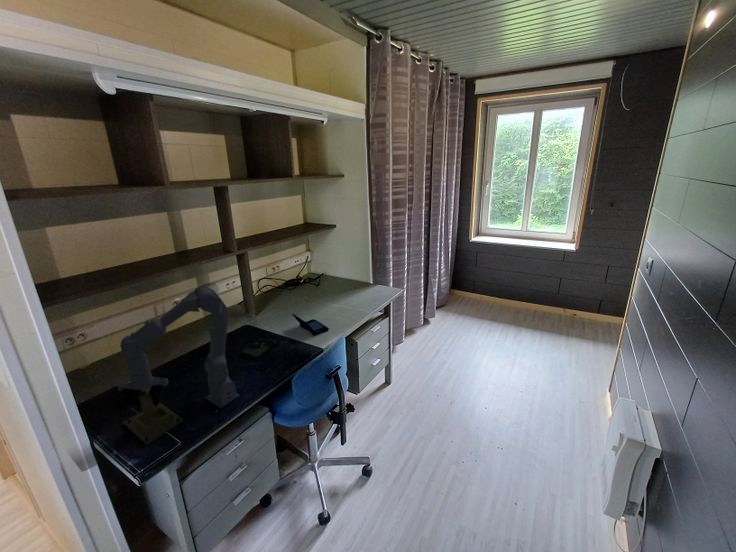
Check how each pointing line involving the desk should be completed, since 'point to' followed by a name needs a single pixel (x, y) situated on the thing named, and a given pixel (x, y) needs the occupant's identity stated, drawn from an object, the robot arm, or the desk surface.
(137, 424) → the mounting bracket
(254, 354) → the disk drive
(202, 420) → the desk surface
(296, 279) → the desk surface
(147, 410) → the switch lever
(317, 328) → the black handheld device
